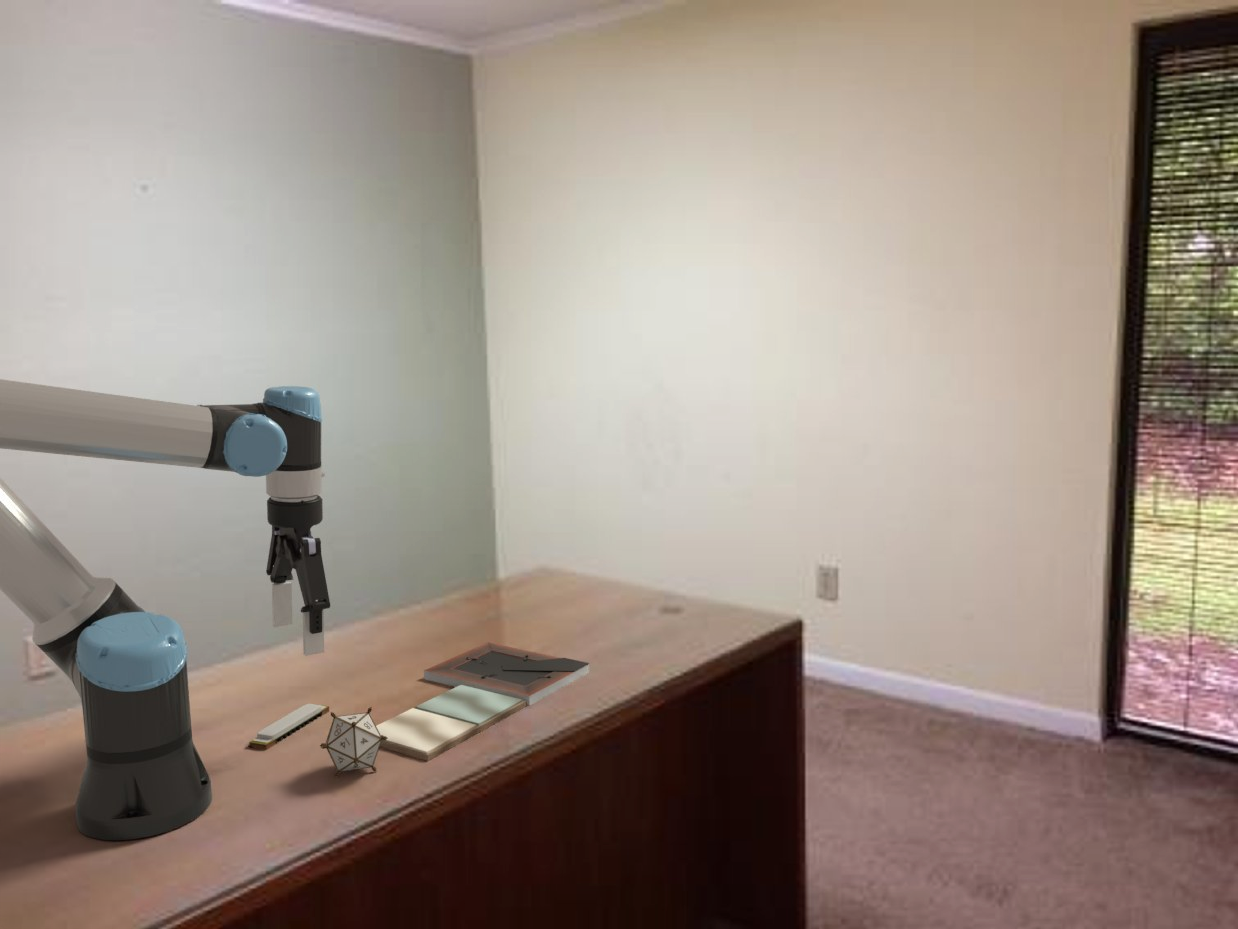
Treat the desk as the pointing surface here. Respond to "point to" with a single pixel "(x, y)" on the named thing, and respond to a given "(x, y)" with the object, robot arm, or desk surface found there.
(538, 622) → the desk surface
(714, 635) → the desk surface
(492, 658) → the picture frame
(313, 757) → the desk surface
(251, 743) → the harmonica
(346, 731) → the game die
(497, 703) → the board
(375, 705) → the desk surface
